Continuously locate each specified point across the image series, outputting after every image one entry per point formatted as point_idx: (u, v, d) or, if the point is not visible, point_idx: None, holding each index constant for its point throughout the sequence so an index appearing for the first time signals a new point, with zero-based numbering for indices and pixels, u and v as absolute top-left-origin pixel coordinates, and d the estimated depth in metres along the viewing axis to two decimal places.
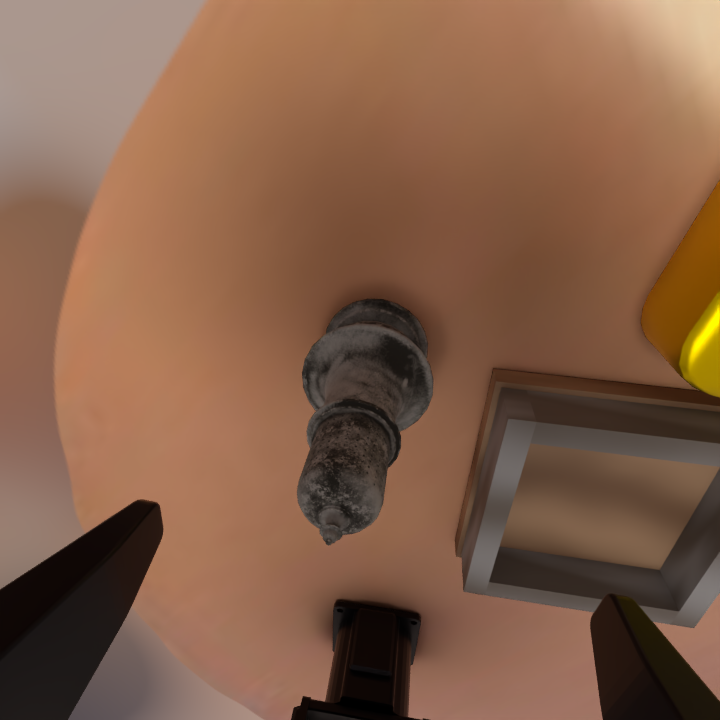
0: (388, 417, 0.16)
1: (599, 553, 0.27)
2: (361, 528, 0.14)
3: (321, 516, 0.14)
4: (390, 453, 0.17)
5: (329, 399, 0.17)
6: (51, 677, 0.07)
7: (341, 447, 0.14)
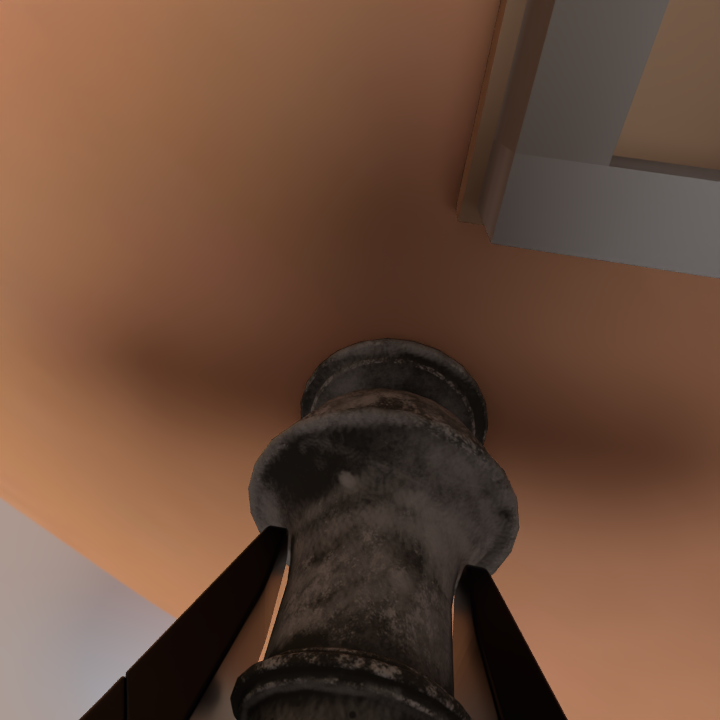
0: (267, 668, 0.06)
1: None
2: None
3: None
4: (376, 702, 0.06)
5: None
6: (219, 716, 0.07)
7: None
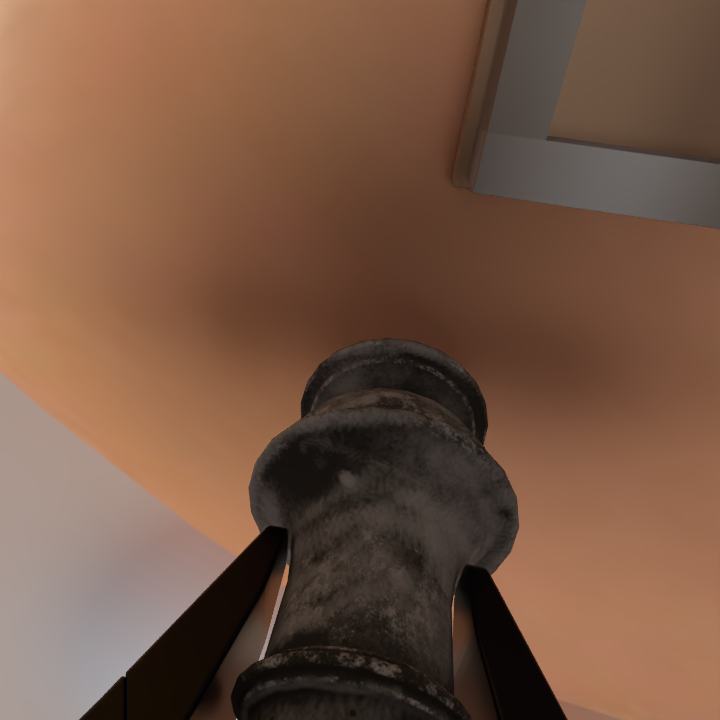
0: (268, 666, 0.06)
1: None
2: None
3: None
4: (376, 700, 0.06)
5: None
6: (219, 716, 0.07)
7: None
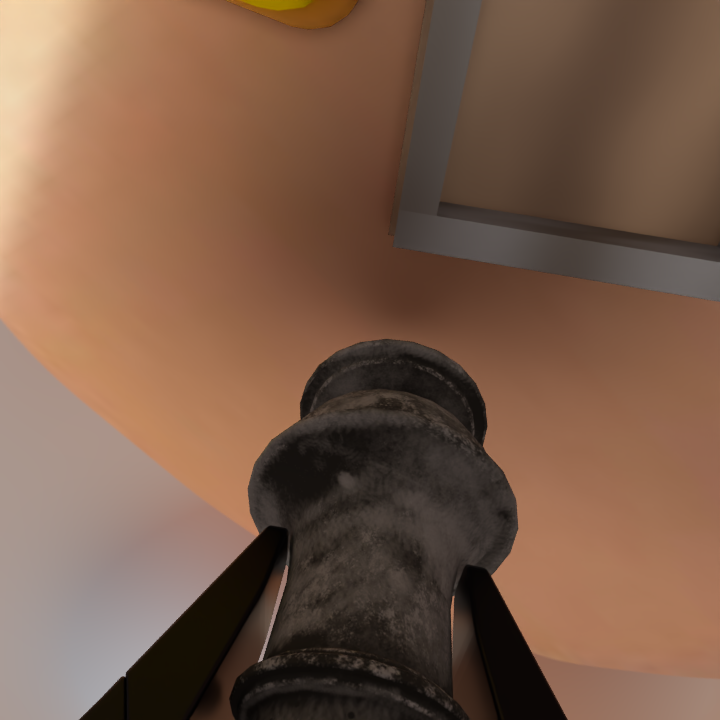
0: (266, 668, 0.06)
1: None
2: None
3: None
4: (374, 702, 0.06)
5: None
6: (219, 716, 0.07)
7: None
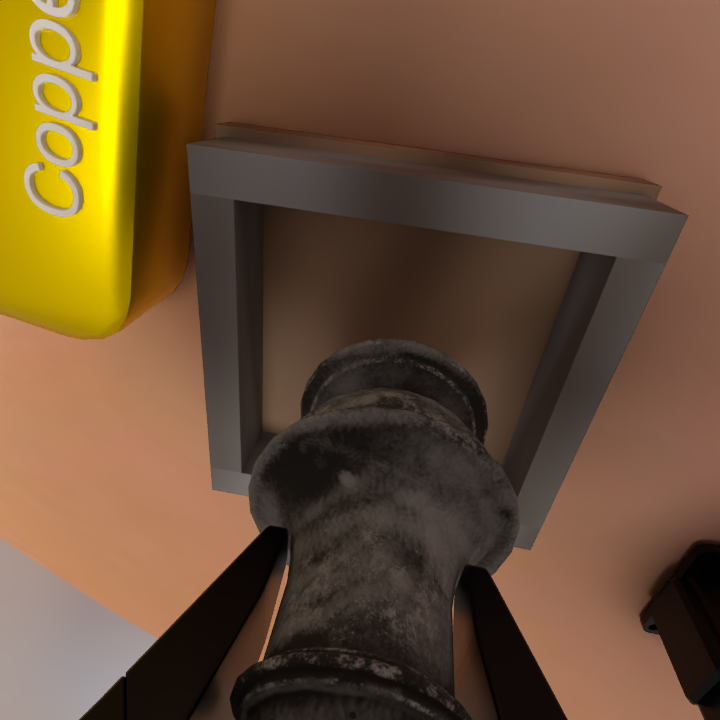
0: (267, 668, 0.06)
1: (530, 332, 0.16)
2: None
3: None
4: (376, 703, 0.06)
5: None
6: (219, 716, 0.07)
7: None
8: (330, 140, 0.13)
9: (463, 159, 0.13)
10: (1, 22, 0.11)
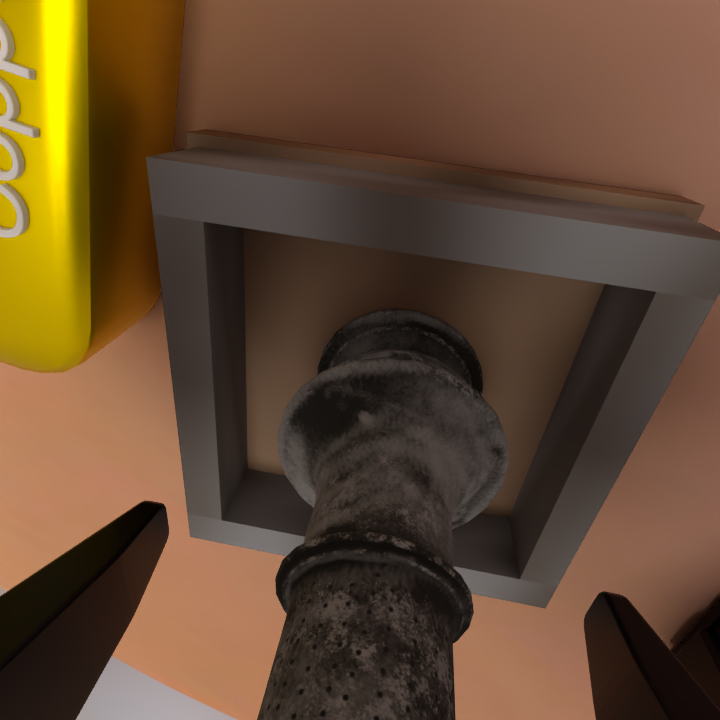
0: (309, 546, 0.08)
1: (547, 367, 0.14)
2: None
3: None
4: (395, 567, 0.07)
5: None
6: (58, 679, 0.07)
7: None
8: (318, 151, 0.12)
9: (472, 173, 0.11)
10: None
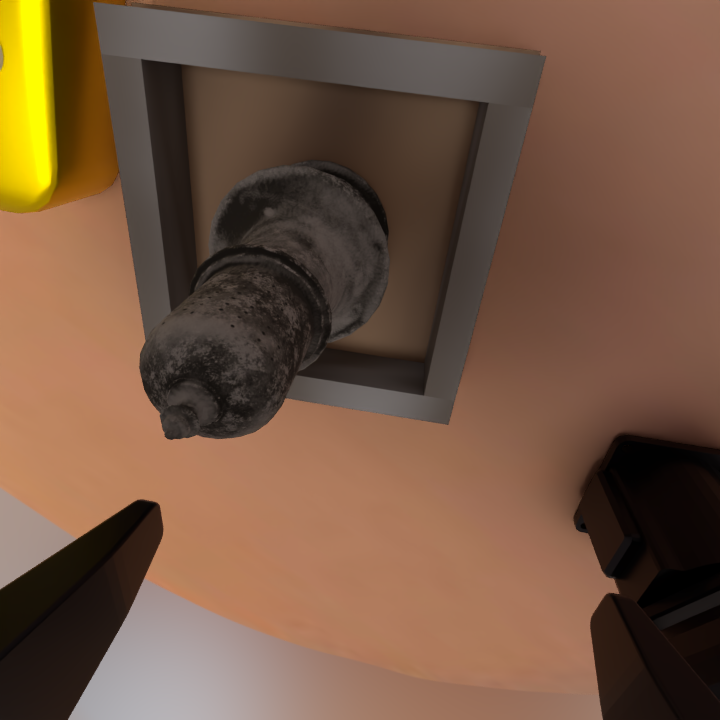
0: (207, 260, 0.11)
1: (438, 210, 0.17)
2: (233, 362, 0.08)
3: None
4: (265, 265, 0.10)
5: None
6: (51, 677, 0.07)
7: None
8: (238, 15, 0.14)
9: (360, 30, 0.14)
10: None
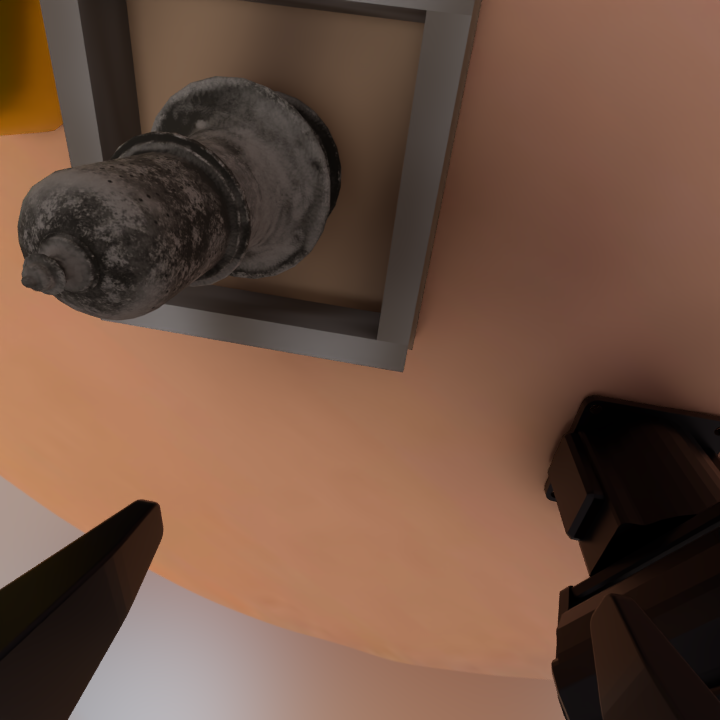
0: (117, 151, 0.10)
1: (390, 144, 0.16)
2: (107, 216, 0.07)
3: None
4: (175, 152, 0.10)
5: None
6: (51, 677, 0.07)
7: None
8: None
9: None
10: None
